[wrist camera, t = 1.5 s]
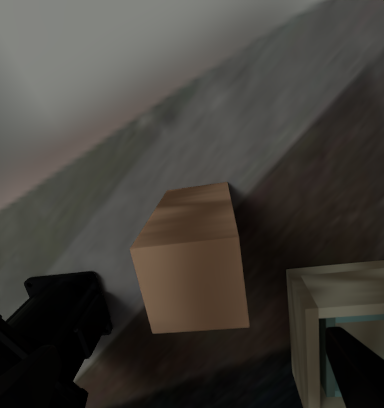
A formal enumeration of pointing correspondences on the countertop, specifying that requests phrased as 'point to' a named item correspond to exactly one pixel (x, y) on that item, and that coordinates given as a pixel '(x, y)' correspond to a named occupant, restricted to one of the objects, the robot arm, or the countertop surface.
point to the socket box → (332, 321)
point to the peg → (192, 262)
